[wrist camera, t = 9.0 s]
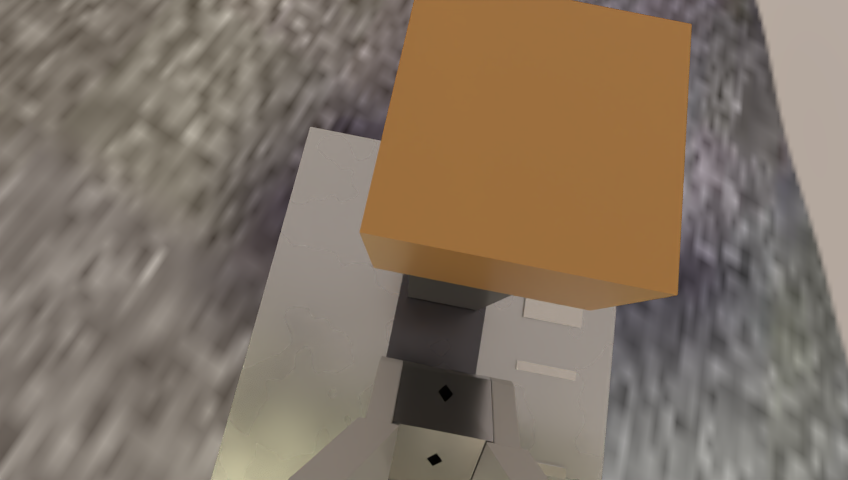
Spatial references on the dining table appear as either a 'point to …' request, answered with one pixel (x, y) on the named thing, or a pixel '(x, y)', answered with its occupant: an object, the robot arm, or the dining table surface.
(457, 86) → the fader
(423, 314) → the console board
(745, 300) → the dining table surface
